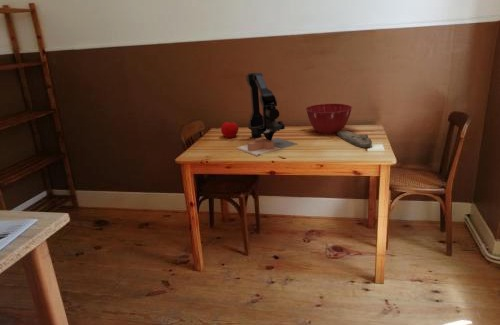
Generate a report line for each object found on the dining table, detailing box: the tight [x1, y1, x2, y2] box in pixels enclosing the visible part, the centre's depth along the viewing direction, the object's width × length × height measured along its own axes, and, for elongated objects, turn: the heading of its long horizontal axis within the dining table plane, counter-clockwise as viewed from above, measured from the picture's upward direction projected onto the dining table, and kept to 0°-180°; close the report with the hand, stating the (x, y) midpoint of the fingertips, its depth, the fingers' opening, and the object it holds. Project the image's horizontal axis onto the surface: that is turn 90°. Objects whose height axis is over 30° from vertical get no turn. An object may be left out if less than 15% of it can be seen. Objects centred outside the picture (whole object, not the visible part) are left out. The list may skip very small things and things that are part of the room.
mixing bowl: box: [305, 103, 353, 135], centre depth 243 cm, size 28×28×16 cm
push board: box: [236, 137, 298, 157], centre depth 219 cm, size 20×29×1 cm
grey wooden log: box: [336, 129, 373, 148], centre depth 222 cm, size 35×5×10 cm
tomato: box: [220, 120, 239, 139], centre depth 246 cm, size 11×13×10 cm
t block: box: [246, 137, 274, 151], centre depth 213 cm, size 12×12×4 cm
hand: (269, 143), depth 218 cm, fingers closed
